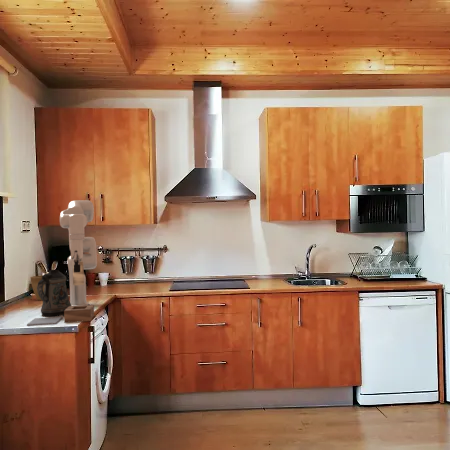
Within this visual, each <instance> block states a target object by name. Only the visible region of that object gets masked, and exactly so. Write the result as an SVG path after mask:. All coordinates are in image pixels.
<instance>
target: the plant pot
mask: <svg viewBox="0 0 450 450" xmlns="http://www.w3.org/2000/svg"><path fill="white" fill-rule="evenodd" d="M43 275H44V274H43ZM43 275H42V274H41V275H35V276H34V275H33V276H30V283H31V286H32V287H31V288H32V290H33V293H34V295H35V298H36V299H37V301H43V300H42V299H41V298H40V297H39V295H38V293H37V285H38V282H39V281H40V280H42V276H43ZM44 286H45V284H44ZM44 286H43V292H44Z"/></svg>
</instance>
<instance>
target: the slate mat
mask: <svg viewBox="0 0 450 450" xmlns="http://www.w3.org/2000/svg"><path fill="white" fill-rule="evenodd" d="M62 319H63V317H62V316H56V317H35V318H33V319H32V320H30V321H29V322H28V323H27V324H26V326H28V327H29V326H43V325H44V326H47V325H57V324H58V323H59V322H60V321H61V320H62Z"/></svg>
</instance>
